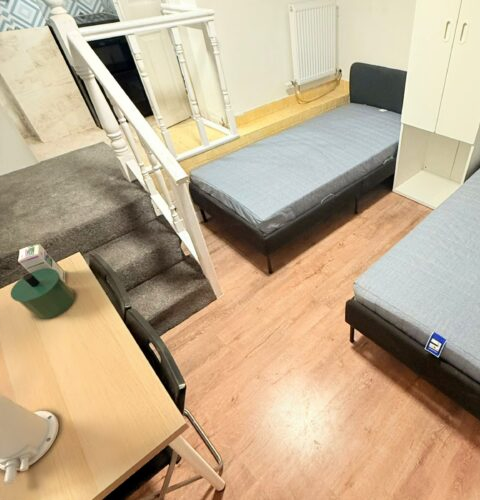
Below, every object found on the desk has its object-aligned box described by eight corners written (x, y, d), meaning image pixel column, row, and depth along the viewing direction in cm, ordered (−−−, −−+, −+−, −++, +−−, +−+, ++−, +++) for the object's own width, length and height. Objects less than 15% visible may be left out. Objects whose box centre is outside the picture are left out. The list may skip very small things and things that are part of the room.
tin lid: (65, 286, 101) (56, 276, 98) (17, 310, 95) (6, 301, 92) (54, 264, 108) (46, 254, 104) (9, 286, 102) (-2, 276, 98)
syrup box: (65, 283, 114) (39, 253, 103) (46, 290, 112) (16, 260, 101) (65, 272, 117) (39, 242, 107) (46, 279, 115) (18, 249, 105)
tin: (79, 303, 107) (62, 285, 100) (38, 325, 102) (17, 307, 95) (69, 283, 113) (52, 265, 107) (30, 303, 108) (10, 284, 101)
